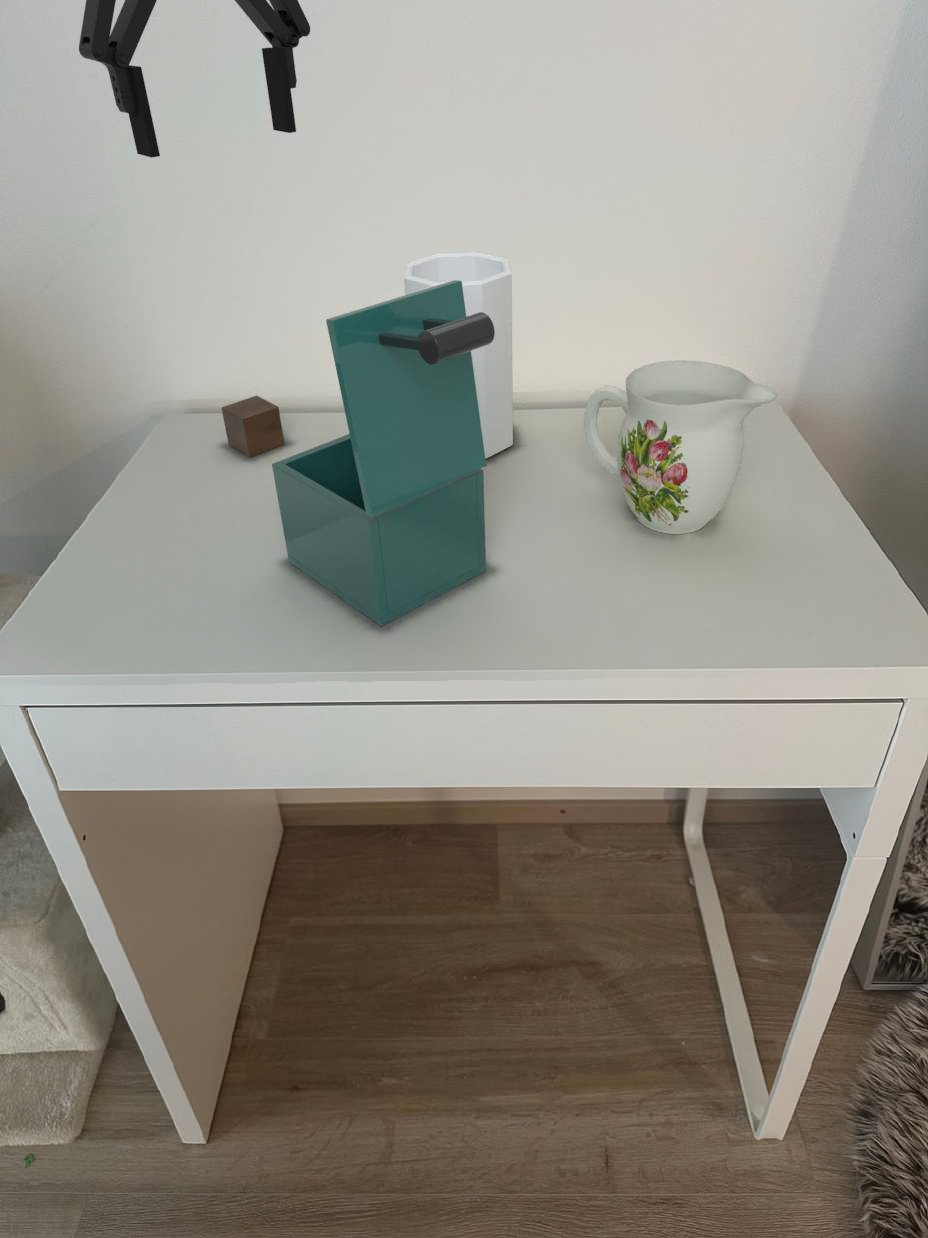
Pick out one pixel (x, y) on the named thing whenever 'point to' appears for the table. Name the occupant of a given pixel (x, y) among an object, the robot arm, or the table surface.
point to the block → (253, 426)
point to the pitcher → (677, 439)
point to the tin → (378, 533)
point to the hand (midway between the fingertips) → (219, 142)
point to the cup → (493, 296)
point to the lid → (411, 392)
